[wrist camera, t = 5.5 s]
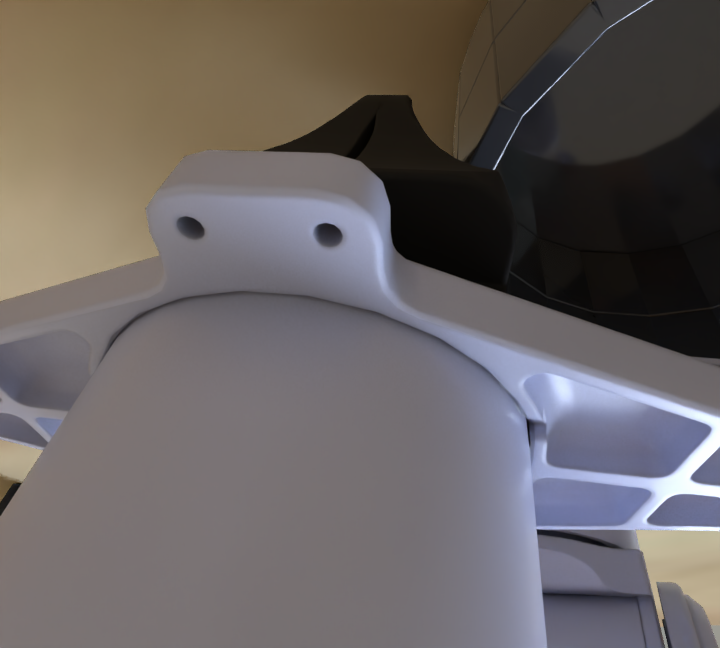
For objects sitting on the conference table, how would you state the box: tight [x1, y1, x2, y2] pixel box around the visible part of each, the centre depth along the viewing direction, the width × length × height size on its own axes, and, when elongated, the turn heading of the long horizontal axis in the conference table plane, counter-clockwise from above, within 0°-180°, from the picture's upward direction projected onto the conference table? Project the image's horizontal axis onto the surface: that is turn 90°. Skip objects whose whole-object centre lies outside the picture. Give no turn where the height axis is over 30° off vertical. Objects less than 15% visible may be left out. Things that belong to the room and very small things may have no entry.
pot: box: [453, 0, 720, 359], centre depth 11 cm, size 11×11×6 cm
